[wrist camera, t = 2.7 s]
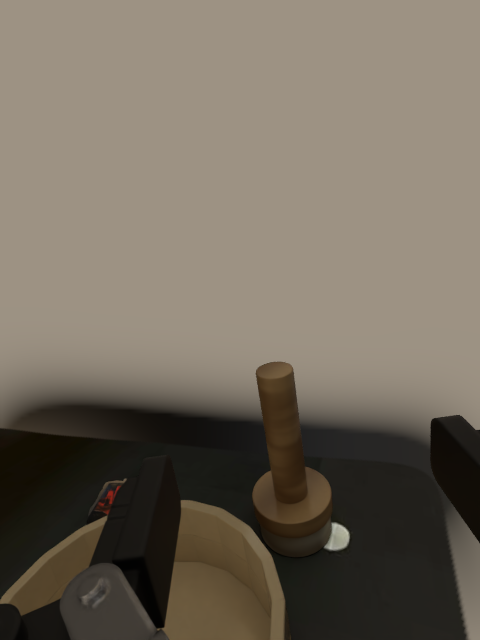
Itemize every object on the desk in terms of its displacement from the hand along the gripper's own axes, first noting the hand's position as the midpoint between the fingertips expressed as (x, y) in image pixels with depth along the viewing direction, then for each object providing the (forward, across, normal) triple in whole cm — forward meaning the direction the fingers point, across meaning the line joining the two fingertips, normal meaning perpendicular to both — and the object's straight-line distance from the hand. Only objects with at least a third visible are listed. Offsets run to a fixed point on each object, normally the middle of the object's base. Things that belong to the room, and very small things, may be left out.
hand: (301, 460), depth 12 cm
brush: (+11, 0, +14) cm, 18 cm away
